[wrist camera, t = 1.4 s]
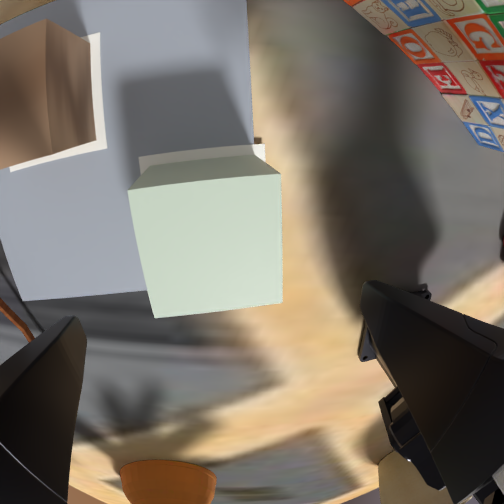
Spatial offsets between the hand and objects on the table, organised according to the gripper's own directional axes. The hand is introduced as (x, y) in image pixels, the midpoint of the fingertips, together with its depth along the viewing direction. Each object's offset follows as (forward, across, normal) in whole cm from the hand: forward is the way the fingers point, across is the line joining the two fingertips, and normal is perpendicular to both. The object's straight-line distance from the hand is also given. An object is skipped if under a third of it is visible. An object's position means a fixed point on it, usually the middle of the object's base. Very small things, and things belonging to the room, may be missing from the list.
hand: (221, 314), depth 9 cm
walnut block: (+10, +9, -8) cm, 16 cm away
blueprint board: (+11, +6, -5) cm, 13 cm away
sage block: (+10, 0, 0) cm, 10 cm away
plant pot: (+11, -26, +45) cm, 53 cm away
